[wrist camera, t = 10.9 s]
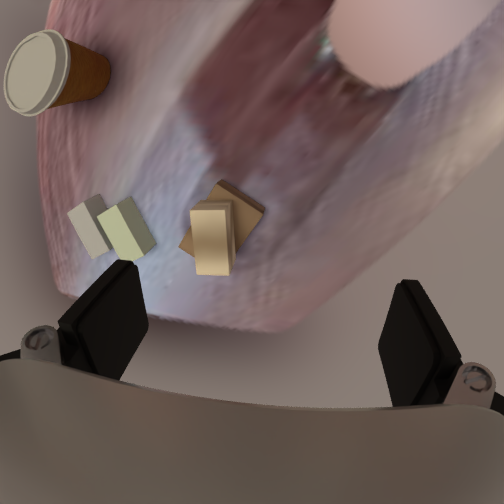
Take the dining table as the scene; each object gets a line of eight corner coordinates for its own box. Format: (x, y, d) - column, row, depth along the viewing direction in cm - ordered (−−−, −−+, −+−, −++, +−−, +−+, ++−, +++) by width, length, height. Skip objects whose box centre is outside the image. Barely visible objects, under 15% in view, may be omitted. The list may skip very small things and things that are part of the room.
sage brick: (112, 207, 38) (96, 216, 34) (131, 196, 37) (116, 204, 33) (137, 252, 40) (123, 265, 36) (156, 243, 39) (144, 255, 35)
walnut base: (222, 178, 35) (216, 183, 32) (265, 206, 36) (263, 214, 33) (186, 237, 38) (178, 247, 36) (225, 263, 39) (220, 274, 37)
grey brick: (84, 204, 38) (67, 213, 34) (100, 193, 37) (83, 201, 34) (106, 247, 40) (92, 259, 37) (123, 238, 39) (109, 250, 36)
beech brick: (200, 200, 33) (189, 210, 29) (232, 199, 33) (224, 210, 29) (206, 258, 36) (196, 274, 32) (235, 259, 36) (229, 275, 32)
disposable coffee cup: (133, 51, 29) (73, 33, 18) (104, 120, 33) (40, 128, 22) (81, 37, 28) (19, 24, 17) (56, 100, 32) (-7, 106, 21)
